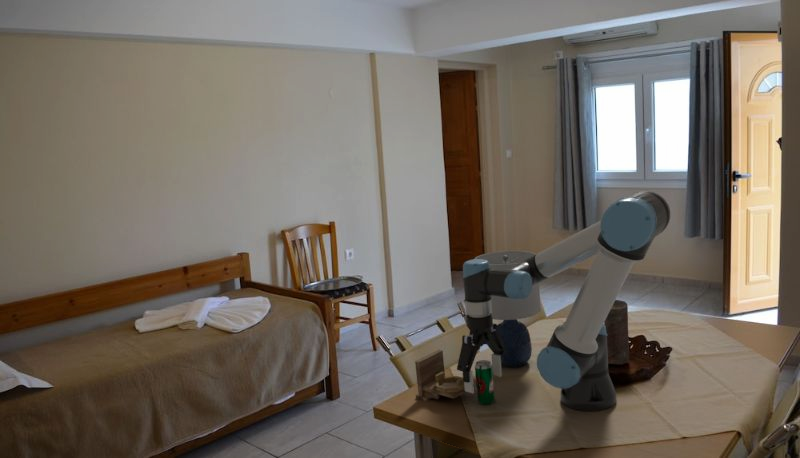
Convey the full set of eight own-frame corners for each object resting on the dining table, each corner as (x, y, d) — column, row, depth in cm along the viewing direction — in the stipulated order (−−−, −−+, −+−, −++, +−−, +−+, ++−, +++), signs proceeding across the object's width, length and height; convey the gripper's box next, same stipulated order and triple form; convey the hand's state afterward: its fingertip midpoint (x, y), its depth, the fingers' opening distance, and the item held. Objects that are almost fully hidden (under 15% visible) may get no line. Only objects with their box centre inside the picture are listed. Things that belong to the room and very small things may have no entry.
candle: (632, 360, 209) (629, 300, 206) (627, 368, 203) (624, 307, 199) (608, 357, 213) (605, 299, 210) (602, 365, 207) (599, 305, 204)
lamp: (470, 366, 217) (461, 259, 212) (508, 348, 231) (500, 247, 225) (519, 379, 202) (510, 265, 197) (556, 359, 216) (549, 251, 210)
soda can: (494, 405, 186) (491, 365, 184) (477, 405, 187) (473, 366, 185) (495, 397, 191) (492, 359, 189) (478, 398, 192) (475, 359, 190)
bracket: (476, 395, 194) (472, 357, 192) (453, 409, 186) (449, 369, 185) (439, 385, 204) (435, 349, 202) (415, 398, 196) (412, 360, 195)
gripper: (493, 300, 196) (497, 366, 200) (440, 323, 179) (446, 396, 182) (514, 303, 191) (518, 371, 195) (462, 328, 174) (467, 402, 177)
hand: (483, 383), depth 189 cm, fingers open, 13 cm apart
